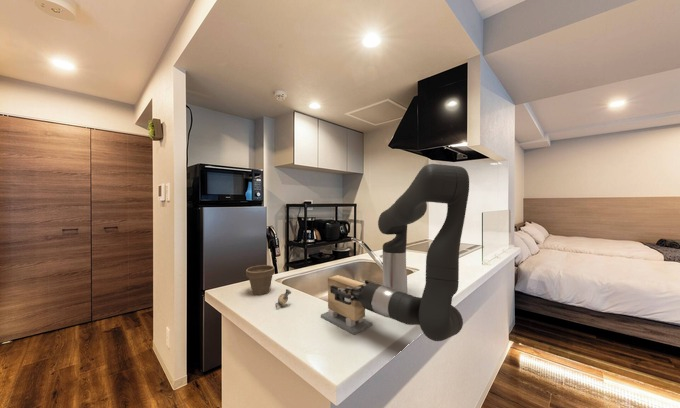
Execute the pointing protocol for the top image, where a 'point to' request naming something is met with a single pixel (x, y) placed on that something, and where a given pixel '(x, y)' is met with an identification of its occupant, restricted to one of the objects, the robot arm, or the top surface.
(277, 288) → the top surface
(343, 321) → the peg stand
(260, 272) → the flower pot
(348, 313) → the brown rectangular block
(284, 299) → the vase
